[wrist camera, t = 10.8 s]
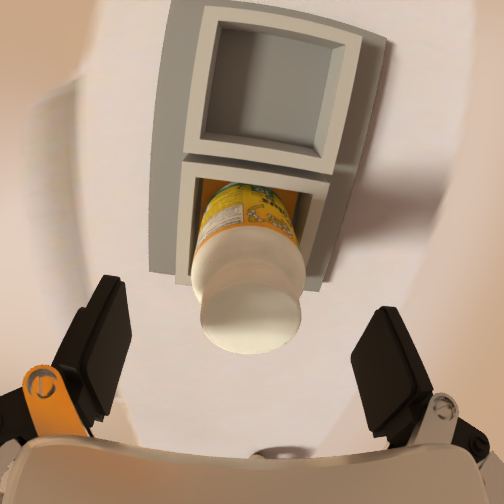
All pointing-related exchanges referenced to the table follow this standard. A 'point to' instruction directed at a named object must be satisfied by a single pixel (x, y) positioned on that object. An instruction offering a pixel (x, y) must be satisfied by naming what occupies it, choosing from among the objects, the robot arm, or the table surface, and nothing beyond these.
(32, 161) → the table surface
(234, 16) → the compartment tray
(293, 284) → the supplement bottle
